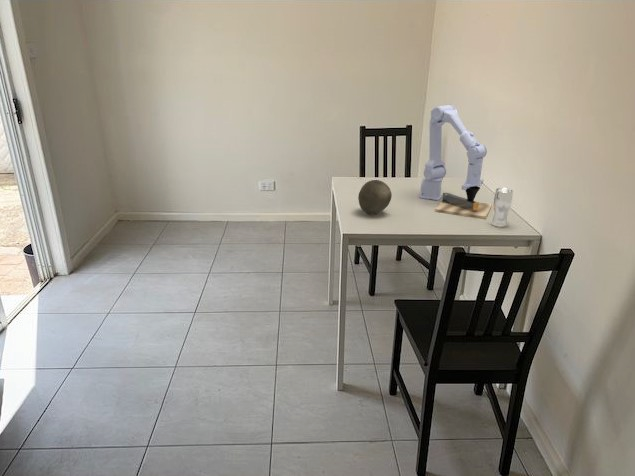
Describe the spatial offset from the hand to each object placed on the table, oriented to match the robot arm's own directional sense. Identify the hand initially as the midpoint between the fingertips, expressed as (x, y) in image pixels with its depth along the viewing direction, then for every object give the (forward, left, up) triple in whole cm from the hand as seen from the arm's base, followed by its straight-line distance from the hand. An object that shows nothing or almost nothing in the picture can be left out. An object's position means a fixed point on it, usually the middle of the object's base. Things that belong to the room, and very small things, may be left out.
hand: (470, 202), depth 212 cm
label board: (-3, 0, -4) cm, 5 cm away
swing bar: (-5, 0, -2) cm, 5 cm away
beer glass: (+14, -13, -4) cm, 20 cm away
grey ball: (-38, -23, -4) cm, 44 cm away
